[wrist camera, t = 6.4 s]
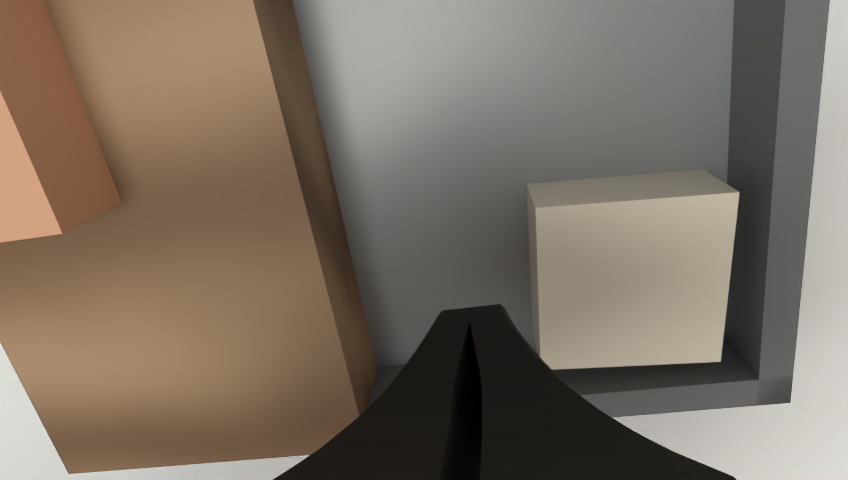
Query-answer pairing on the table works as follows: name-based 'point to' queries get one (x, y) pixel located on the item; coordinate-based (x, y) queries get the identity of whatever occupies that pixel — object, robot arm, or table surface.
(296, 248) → the walnut board
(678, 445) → the table surface
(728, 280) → the cream tile
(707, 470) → the robot arm
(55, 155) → the terracotta tile
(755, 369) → the bin
